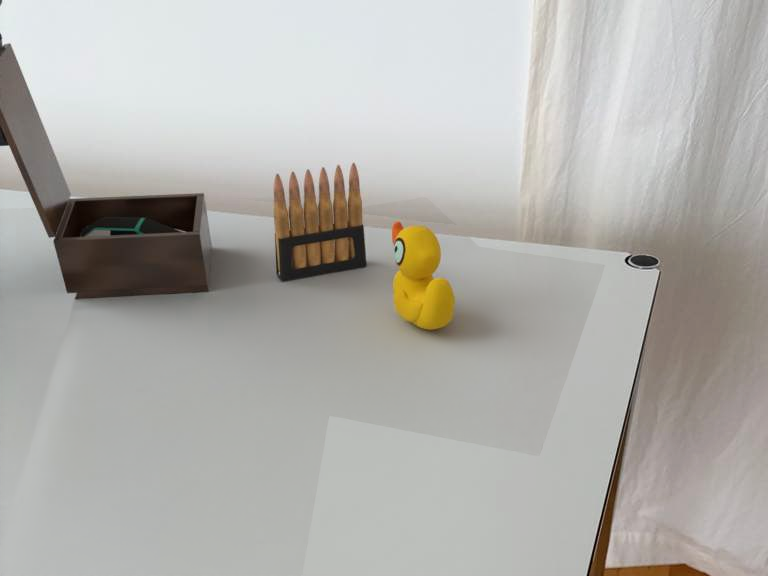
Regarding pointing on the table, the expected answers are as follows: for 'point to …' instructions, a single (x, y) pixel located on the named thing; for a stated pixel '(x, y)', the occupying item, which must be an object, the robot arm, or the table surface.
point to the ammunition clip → (318, 227)
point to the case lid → (31, 144)
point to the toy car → (125, 227)
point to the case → (135, 247)
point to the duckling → (420, 278)
